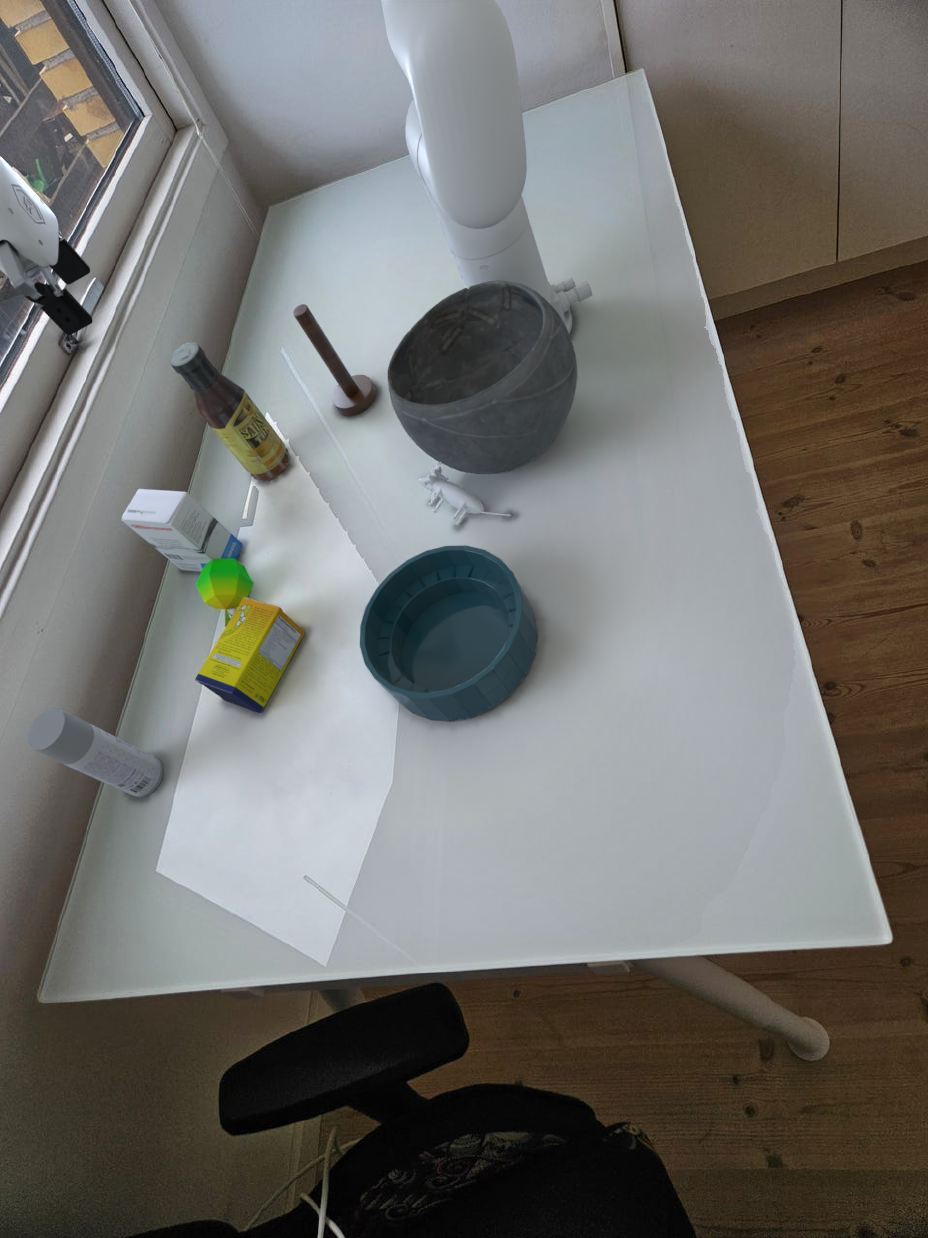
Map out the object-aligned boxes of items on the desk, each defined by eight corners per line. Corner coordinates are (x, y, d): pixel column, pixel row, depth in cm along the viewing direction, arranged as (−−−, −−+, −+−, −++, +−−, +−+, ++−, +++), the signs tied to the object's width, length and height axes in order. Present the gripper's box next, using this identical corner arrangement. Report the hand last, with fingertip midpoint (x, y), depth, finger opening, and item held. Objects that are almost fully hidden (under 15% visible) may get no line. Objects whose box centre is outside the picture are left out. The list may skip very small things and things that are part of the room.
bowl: (542, 348, 104) (501, 247, 92) (634, 430, 90) (599, 323, 79) (408, 443, 104) (351, 354, 93) (480, 538, 91) (423, 448, 79)
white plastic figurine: (403, 486, 93) (426, 453, 93) (415, 505, 98) (437, 473, 98) (489, 534, 89) (513, 499, 89) (497, 551, 94) (519, 518, 94)
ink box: (245, 544, 105) (189, 488, 95) (229, 576, 103) (170, 523, 93) (195, 539, 109) (136, 486, 99) (179, 571, 107) (117, 519, 97)
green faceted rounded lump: (191, 570, 100) (193, 636, 97) (199, 544, 95) (201, 614, 92) (250, 573, 103) (254, 638, 100) (260, 548, 98) (265, 616, 95)
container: (167, 755, 92) (71, 703, 80) (159, 795, 90) (58, 748, 78) (133, 759, 94) (33, 709, 82) (124, 799, 91) (20, 754, 79)
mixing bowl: (508, 553, 90) (490, 519, 84) (563, 680, 80) (546, 650, 75) (370, 618, 92) (344, 589, 87) (408, 750, 82) (381, 726, 77)
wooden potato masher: (371, 376, 113) (317, 284, 100) (381, 402, 109) (326, 311, 96) (333, 395, 113) (274, 307, 101) (342, 423, 110) (282, 335, 97)
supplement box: (223, 701, 93) (270, 620, 97) (261, 715, 90) (308, 631, 94) (192, 679, 89) (242, 595, 92) (230, 693, 86) (281, 606, 89)
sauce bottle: (285, 481, 108) (194, 374, 92) (246, 485, 110) (151, 380, 94) (298, 443, 111) (213, 332, 95) (260, 447, 113) (170, 339, 97)
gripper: (-30, 173, 67) (113, 331, 81) (-19, 90, 77) (106, 243, 91) (-103, 218, 68) (50, 366, 82) (-83, 130, 78) (51, 275, 92)
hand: (80, 301), depth 87 cm, fingers open, 9 cm apart
